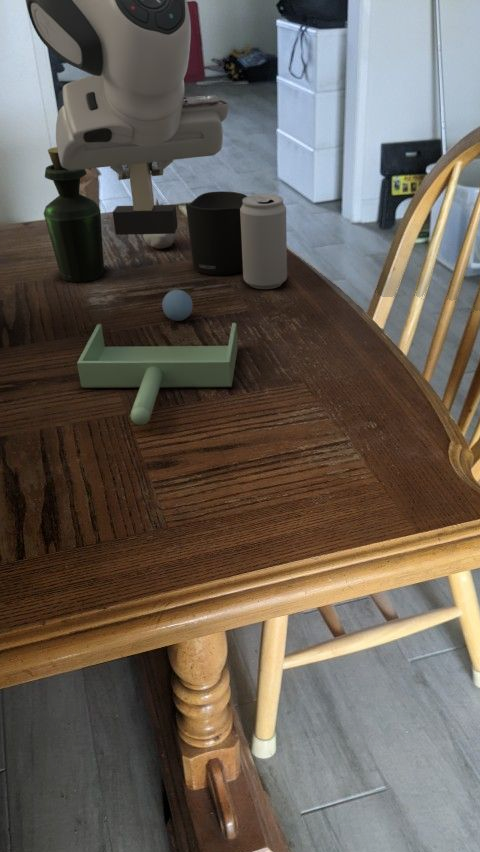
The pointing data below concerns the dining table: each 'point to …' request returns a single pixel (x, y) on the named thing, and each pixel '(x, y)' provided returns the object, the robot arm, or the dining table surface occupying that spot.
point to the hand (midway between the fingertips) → (139, 173)
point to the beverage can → (264, 240)
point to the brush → (144, 207)
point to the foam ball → (177, 305)
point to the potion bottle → (73, 225)
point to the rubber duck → (159, 238)
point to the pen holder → (216, 232)
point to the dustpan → (155, 368)
